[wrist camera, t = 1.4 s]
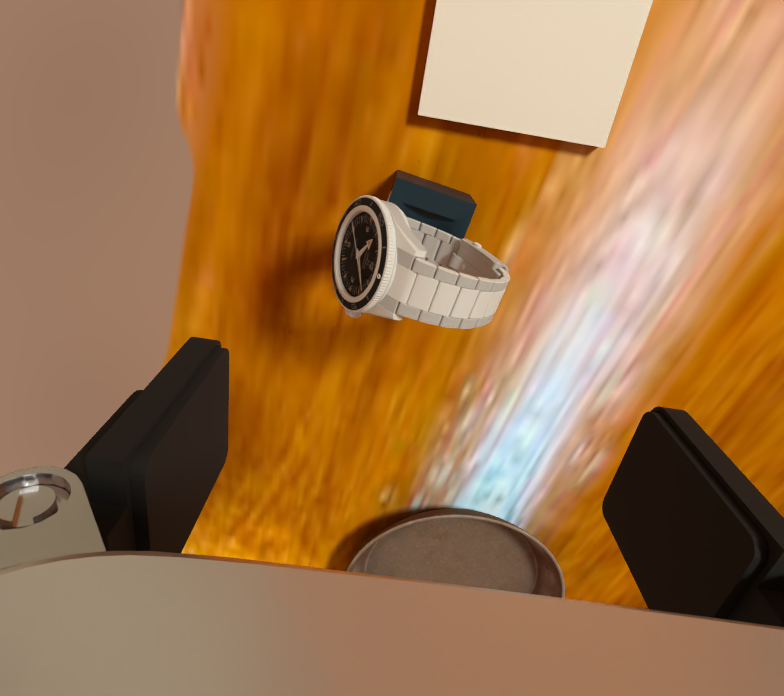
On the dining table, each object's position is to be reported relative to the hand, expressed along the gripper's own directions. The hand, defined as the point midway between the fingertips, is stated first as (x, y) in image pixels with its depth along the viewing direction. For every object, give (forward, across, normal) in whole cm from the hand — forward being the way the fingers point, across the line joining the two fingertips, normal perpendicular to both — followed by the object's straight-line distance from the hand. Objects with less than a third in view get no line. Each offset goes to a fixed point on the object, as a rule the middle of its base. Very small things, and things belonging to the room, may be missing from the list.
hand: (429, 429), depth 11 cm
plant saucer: (+20, -8, +28) cm, 36 cm away
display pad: (+20, -4, -12) cm, 24 cm away
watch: (+20, 0, 0) cm, 20 cm away
